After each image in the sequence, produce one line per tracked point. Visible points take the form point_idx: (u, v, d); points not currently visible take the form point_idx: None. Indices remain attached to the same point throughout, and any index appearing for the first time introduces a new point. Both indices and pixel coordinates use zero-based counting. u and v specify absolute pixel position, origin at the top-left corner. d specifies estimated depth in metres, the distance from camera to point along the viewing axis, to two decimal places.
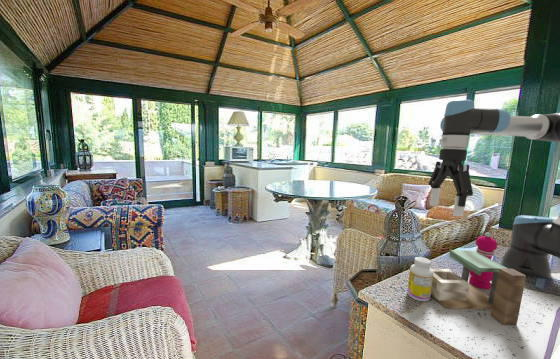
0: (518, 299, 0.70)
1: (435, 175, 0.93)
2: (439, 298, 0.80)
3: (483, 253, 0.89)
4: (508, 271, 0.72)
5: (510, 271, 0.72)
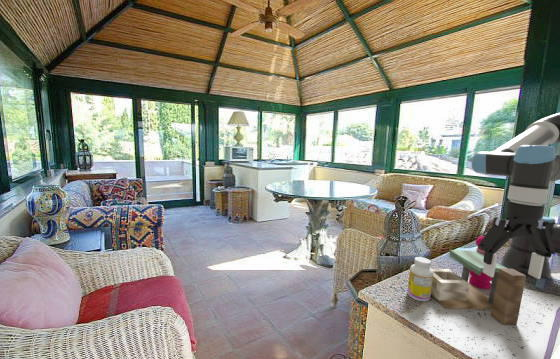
0: (518, 299, 0.70)
1: (540, 237, 0.71)
2: (439, 298, 0.80)
3: (483, 253, 0.89)
4: (508, 271, 0.72)
5: (510, 271, 0.72)
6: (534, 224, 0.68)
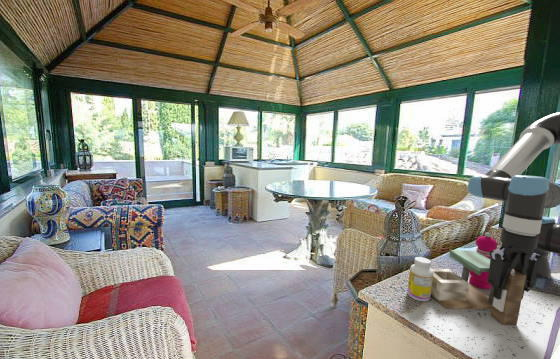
0: (518, 299, 0.71)
1: None
2: (439, 298, 0.80)
3: (483, 253, 0.89)
4: None
5: None
6: (529, 252, 0.70)
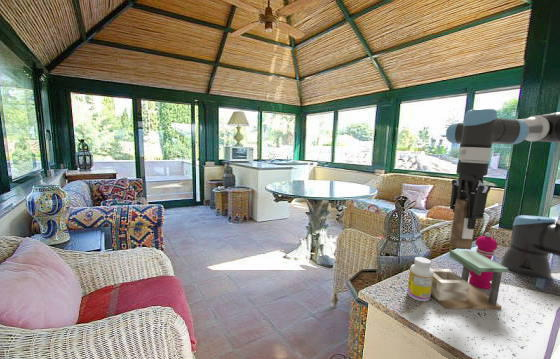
0: None
1: (455, 195, 0.83)
2: (439, 298, 0.80)
3: (483, 253, 0.89)
4: None
5: None
6: None
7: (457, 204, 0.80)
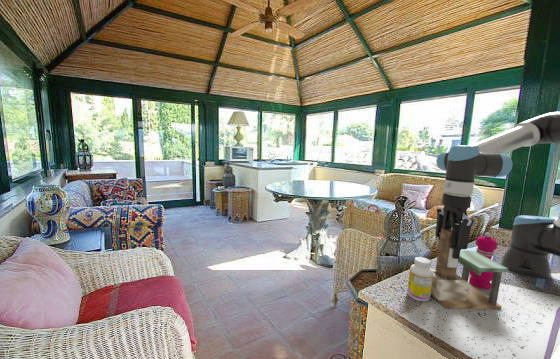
0: None
1: (440, 224, 0.86)
2: (439, 298, 0.80)
3: (483, 253, 0.89)
4: None
5: (451, 230, 0.81)
6: None
7: (442, 233, 0.83)
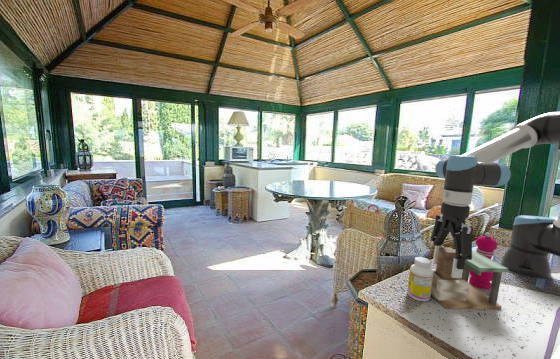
0: None
1: (437, 230, 0.88)
2: (439, 298, 0.80)
3: (483, 253, 0.89)
4: (450, 251, 0.82)
5: (448, 250, 0.82)
6: None
7: (440, 253, 0.84)
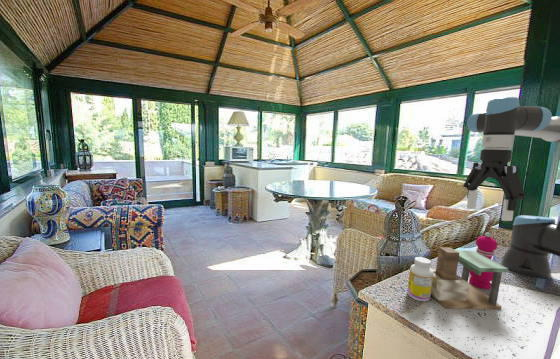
0: None
1: (472, 177, 0.88)
2: (439, 298, 0.80)
3: (483, 253, 0.89)
4: (450, 251, 0.82)
5: (448, 250, 0.82)
6: None
7: (440, 253, 0.84)
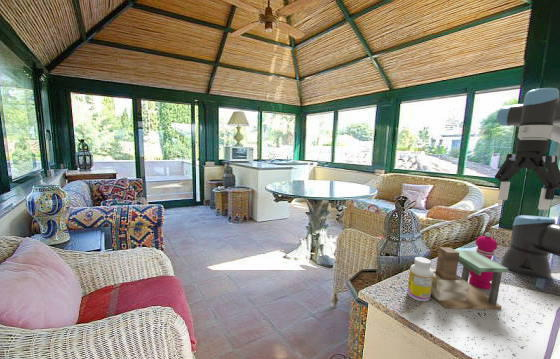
0: None
1: (505, 168, 0.89)
2: (439, 298, 0.80)
3: (483, 253, 0.89)
4: (450, 251, 0.82)
5: (448, 250, 0.82)
6: None
7: (440, 253, 0.84)
